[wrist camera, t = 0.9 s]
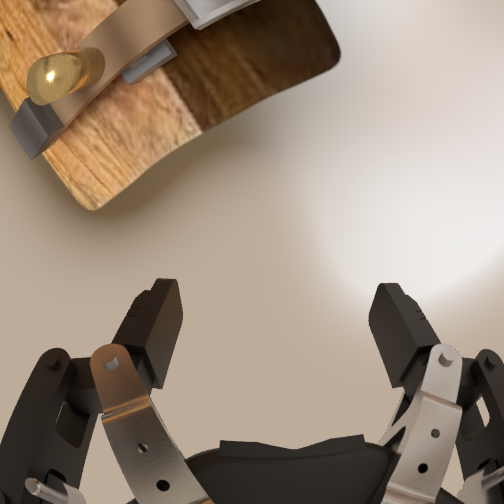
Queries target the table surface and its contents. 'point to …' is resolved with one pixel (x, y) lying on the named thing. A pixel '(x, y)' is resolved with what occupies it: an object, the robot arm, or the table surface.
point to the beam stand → (149, 62)
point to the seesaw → (115, 59)
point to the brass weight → (64, 74)
